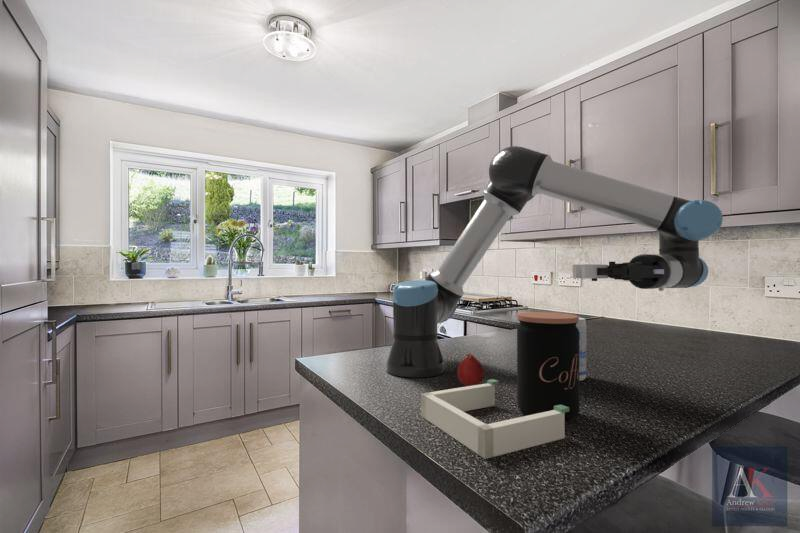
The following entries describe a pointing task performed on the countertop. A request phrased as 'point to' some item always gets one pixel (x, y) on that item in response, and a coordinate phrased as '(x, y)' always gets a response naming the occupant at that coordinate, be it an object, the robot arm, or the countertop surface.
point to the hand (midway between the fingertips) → (578, 271)
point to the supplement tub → (582, 348)
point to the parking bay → (494, 437)
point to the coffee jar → (548, 363)
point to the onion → (470, 371)
